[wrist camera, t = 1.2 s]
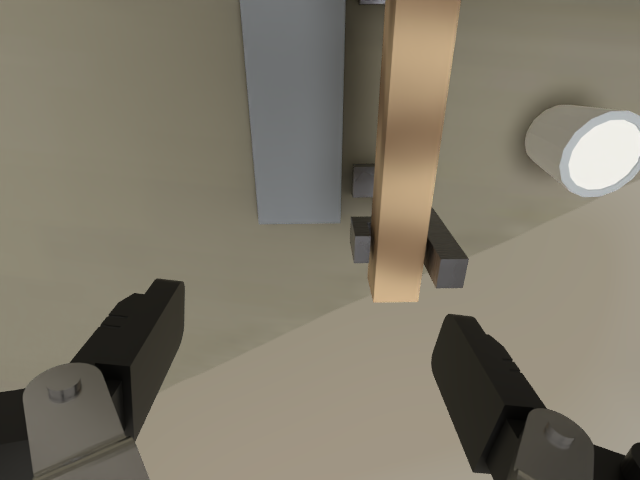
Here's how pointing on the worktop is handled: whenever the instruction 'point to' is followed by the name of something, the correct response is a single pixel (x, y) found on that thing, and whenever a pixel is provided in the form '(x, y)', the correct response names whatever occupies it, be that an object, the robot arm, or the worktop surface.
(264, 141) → the slate mat
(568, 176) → the beige white-topped cylinder
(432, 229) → the charcoal rack
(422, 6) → the oak rail
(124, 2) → the worktop surface
